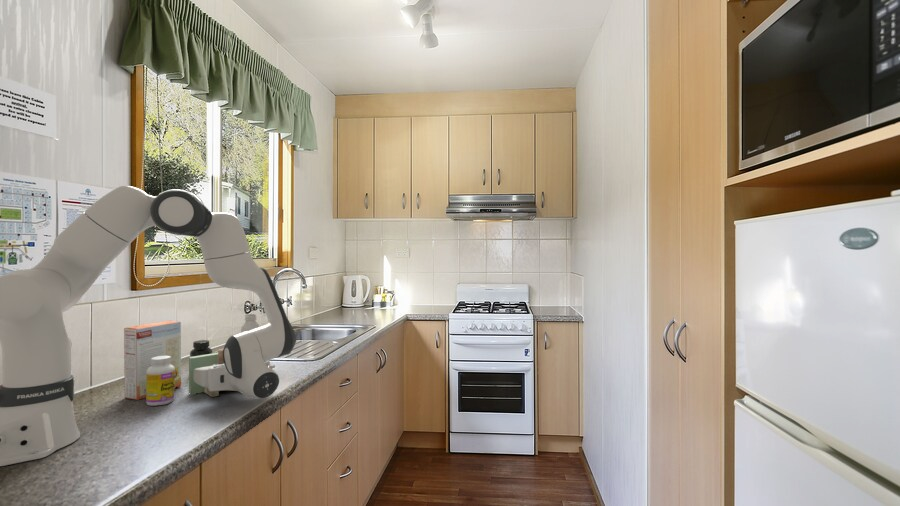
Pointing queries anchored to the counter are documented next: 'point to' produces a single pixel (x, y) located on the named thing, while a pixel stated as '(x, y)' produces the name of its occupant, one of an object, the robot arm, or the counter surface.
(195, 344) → the supplement bottle
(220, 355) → the dowel
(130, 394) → the cracker box
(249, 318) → the plastic bottle
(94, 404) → the counter surface
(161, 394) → the supplement bottle
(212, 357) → the wall
